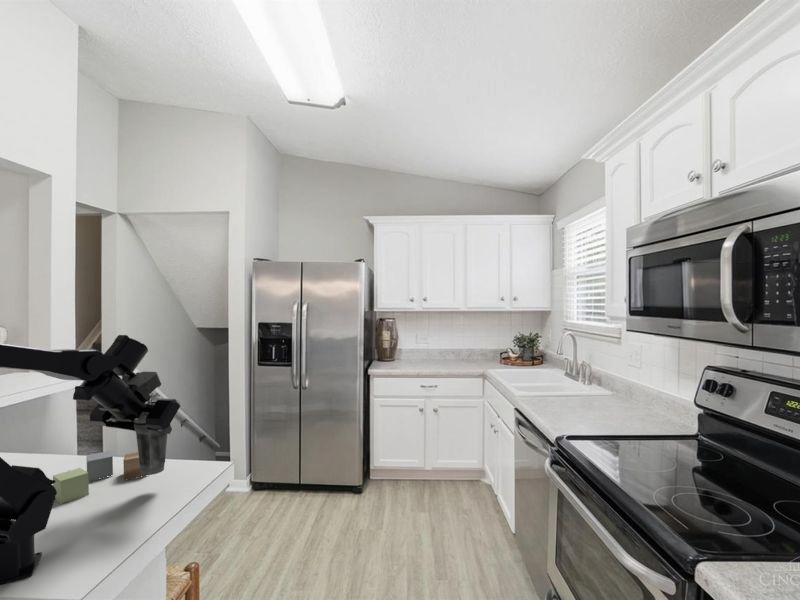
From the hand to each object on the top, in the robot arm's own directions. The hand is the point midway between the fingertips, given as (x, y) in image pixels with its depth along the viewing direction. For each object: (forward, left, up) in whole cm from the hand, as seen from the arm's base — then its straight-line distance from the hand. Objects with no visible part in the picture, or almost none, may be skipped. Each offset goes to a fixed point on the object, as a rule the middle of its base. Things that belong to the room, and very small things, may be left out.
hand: (157, 431), depth 95 cm
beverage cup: (-1, +1, -9) cm, 9 cm away
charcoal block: (+16, +13, -13) cm, 25 cm away
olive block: (+6, +17, -13) cm, 22 cm away
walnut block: (+12, +5, -13) cm, 19 cm away
